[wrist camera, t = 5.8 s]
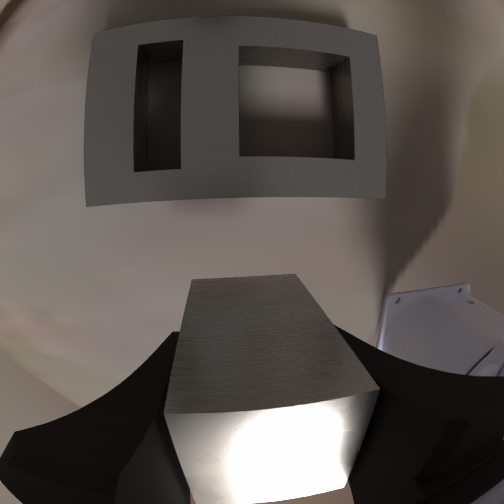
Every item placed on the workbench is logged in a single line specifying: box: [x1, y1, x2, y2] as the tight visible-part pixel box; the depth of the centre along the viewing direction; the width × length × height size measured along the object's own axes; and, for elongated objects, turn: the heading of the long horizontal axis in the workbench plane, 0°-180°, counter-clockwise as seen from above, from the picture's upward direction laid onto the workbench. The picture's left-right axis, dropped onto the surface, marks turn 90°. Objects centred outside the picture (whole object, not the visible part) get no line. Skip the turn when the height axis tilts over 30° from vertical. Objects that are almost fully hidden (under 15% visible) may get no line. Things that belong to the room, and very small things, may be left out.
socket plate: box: [84, 16, 386, 207], centre depth 14 cm, size 16×10×3 cm, turn 90°
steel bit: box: [164, 274, 380, 504], centre depth 9 cm, size 4×4×7 cm
